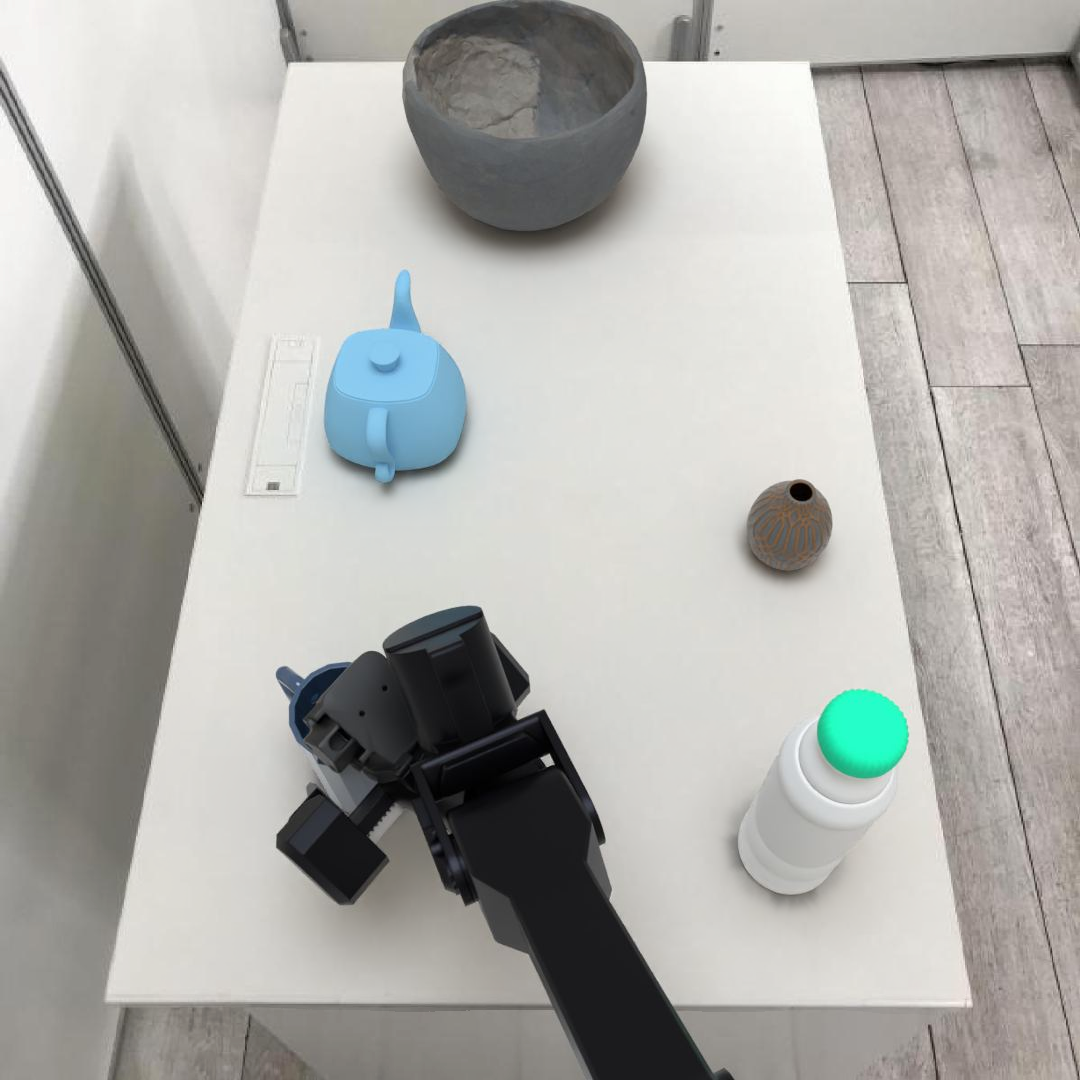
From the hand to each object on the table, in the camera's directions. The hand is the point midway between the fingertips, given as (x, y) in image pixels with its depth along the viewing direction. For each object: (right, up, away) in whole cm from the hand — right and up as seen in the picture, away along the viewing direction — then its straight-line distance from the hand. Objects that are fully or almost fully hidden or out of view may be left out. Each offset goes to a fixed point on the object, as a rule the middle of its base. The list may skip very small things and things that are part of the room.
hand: (358, 738), depth 75 cm
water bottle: (+31, -9, +4) cm, 32 cm away
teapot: (0, +25, +25) cm, 36 cm away
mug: (-2, -3, +8) cm, 8 cm away
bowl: (+12, +52, +41) cm, 67 cm away
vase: (+34, +13, +17) cm, 40 cm away
